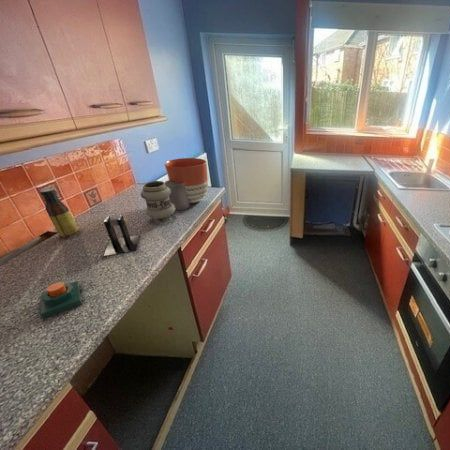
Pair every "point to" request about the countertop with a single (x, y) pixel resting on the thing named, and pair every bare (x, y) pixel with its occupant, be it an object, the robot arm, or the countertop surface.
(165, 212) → the apothecary jar
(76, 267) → the countertop surface
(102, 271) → the countertop surface
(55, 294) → the button
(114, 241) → the bracket
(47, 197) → the sauce bottle
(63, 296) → the button housing
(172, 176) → the planter
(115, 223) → the lever
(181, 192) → the pillar candle
